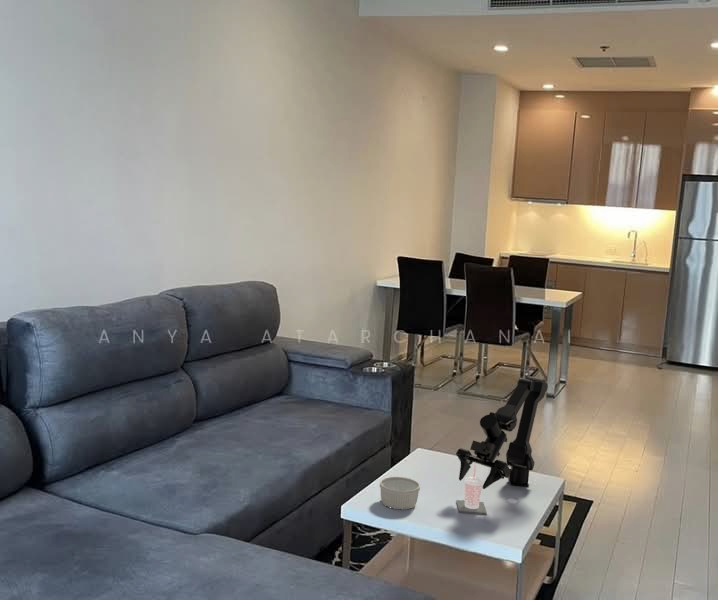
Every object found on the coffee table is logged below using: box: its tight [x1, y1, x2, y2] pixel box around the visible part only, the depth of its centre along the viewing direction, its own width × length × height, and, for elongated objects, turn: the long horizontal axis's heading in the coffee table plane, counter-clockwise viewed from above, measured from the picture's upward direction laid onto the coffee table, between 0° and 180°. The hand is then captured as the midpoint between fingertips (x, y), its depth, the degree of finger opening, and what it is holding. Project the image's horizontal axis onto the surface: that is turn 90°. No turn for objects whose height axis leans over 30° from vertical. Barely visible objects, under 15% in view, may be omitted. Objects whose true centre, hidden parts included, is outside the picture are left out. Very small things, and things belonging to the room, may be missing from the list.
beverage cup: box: [464, 464, 484, 509], centre depth 241 cm, size 6×6×14 cm
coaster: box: [455, 499, 488, 516], centre depth 242 cm, size 9×9×1 cm
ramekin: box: [379, 476, 421, 510], centre depth 241 cm, size 13×13×7 cm
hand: (471, 484), depth 240 cm, fingers open, 9 cm apart
